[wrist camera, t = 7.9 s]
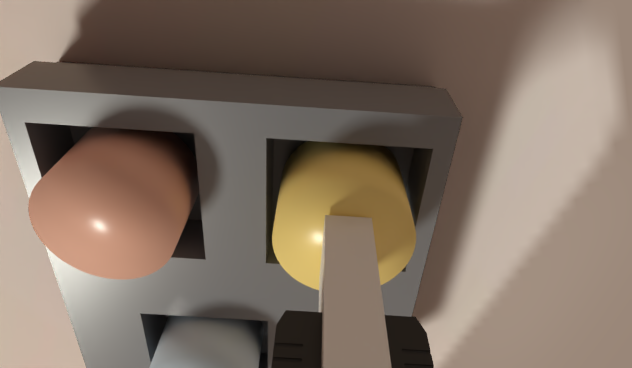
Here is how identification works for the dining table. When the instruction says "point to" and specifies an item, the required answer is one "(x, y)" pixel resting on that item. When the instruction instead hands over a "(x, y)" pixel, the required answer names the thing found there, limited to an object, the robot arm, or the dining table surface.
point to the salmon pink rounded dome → (116, 201)
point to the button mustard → (341, 206)
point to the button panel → (222, 185)
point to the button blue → (209, 343)
